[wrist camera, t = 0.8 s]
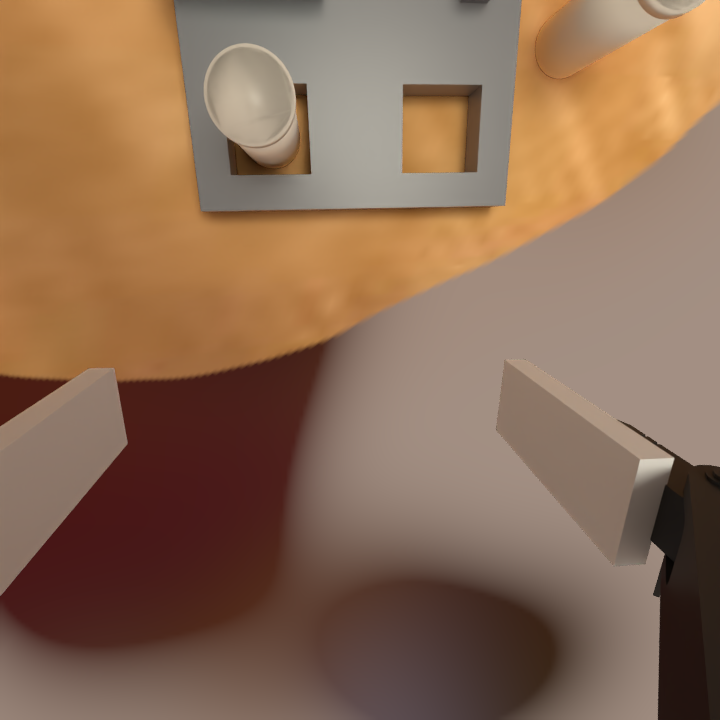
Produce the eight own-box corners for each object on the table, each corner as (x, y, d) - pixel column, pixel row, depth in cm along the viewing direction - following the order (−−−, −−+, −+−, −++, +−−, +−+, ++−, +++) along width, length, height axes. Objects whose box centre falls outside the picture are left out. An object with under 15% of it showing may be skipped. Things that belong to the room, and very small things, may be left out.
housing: (176, -62, 30) (143, -129, 24) (508, -50, 32) (550, -109, 26) (210, 212, 35) (190, 210, 30) (490, 206, 37) (522, 204, 32)
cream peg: (536, 9, 33) (652, -101, 22) (595, 11, 34) (738, -97, 22) (530, 80, 35) (635, 11, 23) (586, 81, 35) (716, 14, 24)
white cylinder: (237, 103, 33) (197, 42, 22) (300, 103, 34) (292, 43, 22) (244, 170, 35) (210, 146, 23) (303, 170, 35) (298, 145, 24)
